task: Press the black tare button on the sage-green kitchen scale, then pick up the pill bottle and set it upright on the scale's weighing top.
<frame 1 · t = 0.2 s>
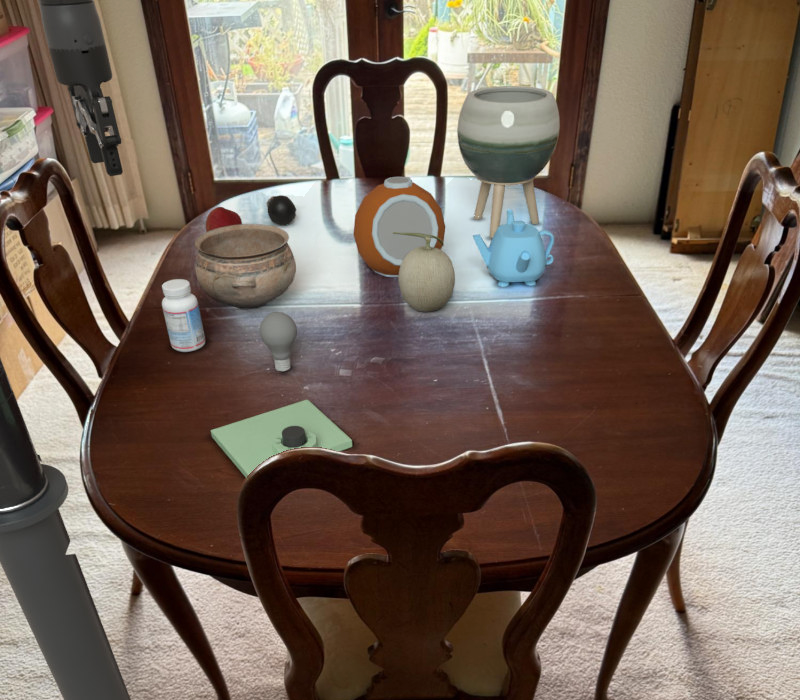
hand: (106, 168, 117), 30 cm above the table, tool pointing down, fingers open, 8 cm apart
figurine: (282, 217, 193), on the table
fruit: (427, 308, 150), on the table
cooking pot: (251, 303, 153), on the table
planter: (502, 227, 184), on the table
scale: (281, 441, 114), on the table
alarm clock: (400, 267, 166), on the table
apple: (226, 244, 179), on the table
light bulb: (283, 370, 131), on the table
pill bottle: (188, 346, 139), on the table
tare button: (293, 437, 108), point 3 cm above the table, slide at 0.1 cm
teapot: (511, 279, 160), on the table
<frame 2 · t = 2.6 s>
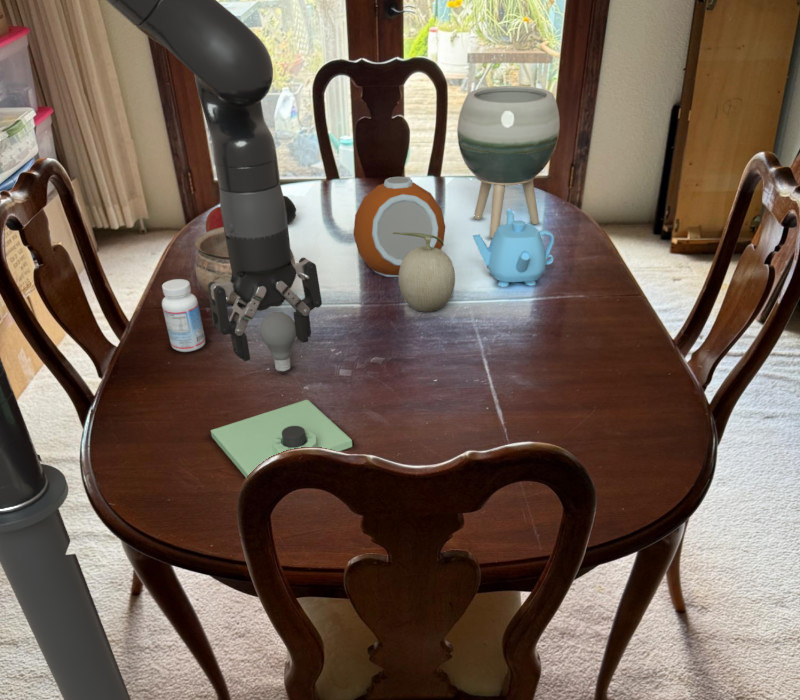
hand: (274, 349, 103), 15 cm above the table, tool pointing down, fingers open, 8 cm apart
nothing on the table moved.
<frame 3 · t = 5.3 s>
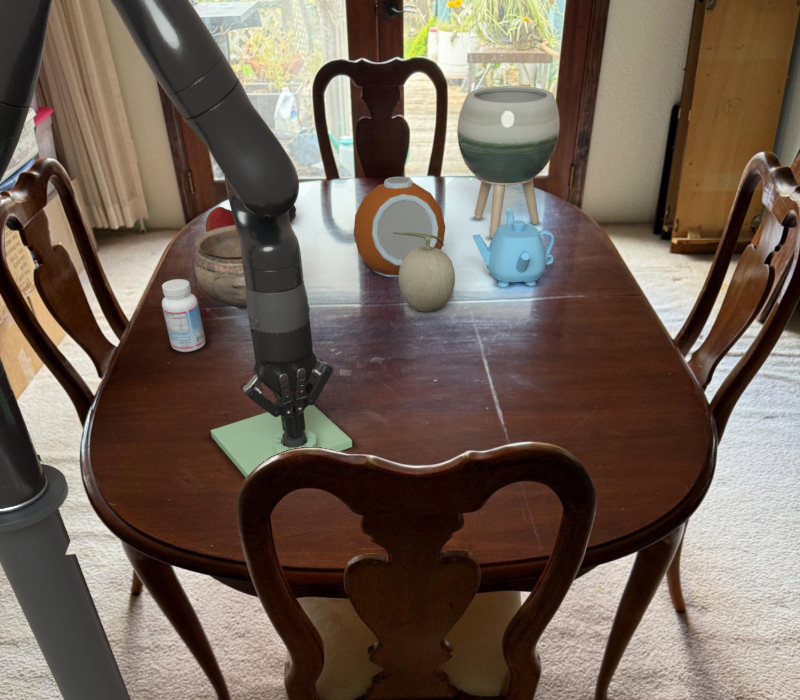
hand: (294, 435, 108), 4 cm above the table, tool pointing down, fingers closed
tare button: (294, 440, 109), point 3 cm above the table, slide at -0.4 cm, touching gripper
everything else where it was.
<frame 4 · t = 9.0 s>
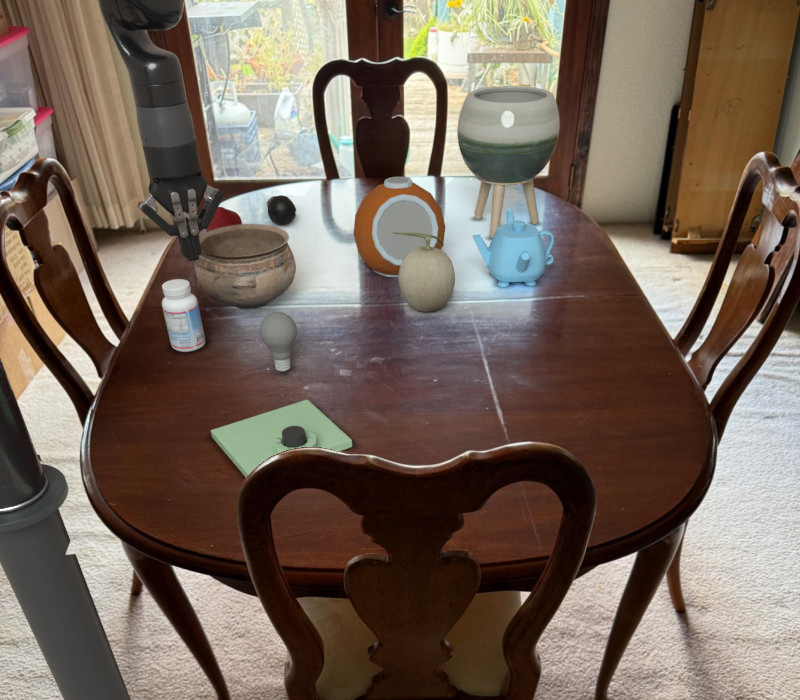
hand: (192, 259, 121), 18 cm above the table, tool pointing down, fingers closed
tare button: (294, 437, 108), point 3 cm above the table, slide at 0.1 cm
everything else where it was.
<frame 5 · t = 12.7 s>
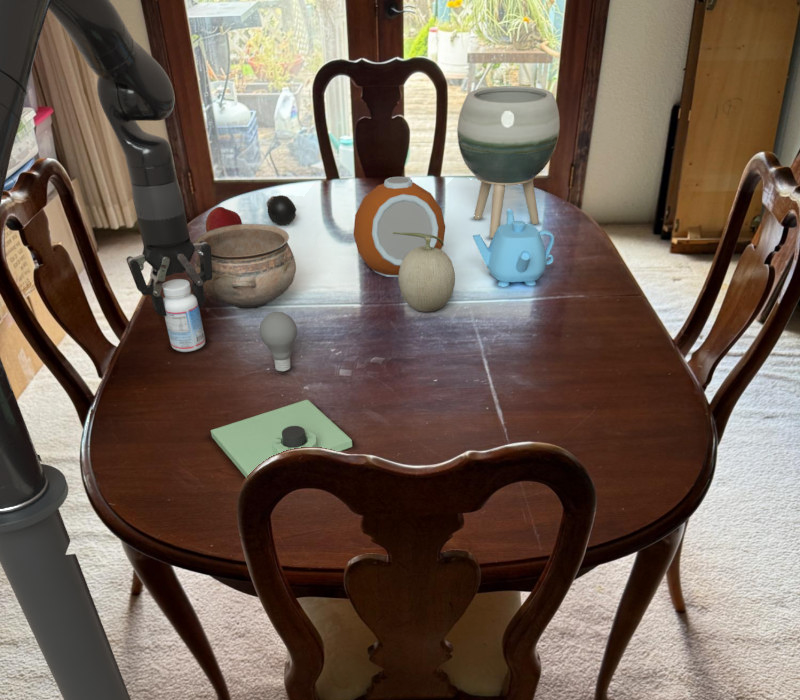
hand: (181, 310, 135), 7 cm above the table, tool pointing down, fingers closed on pill bottle, 6 cm apart
pill bottle: (188, 346, 139), on the table, touching gripper
everything else where it was.
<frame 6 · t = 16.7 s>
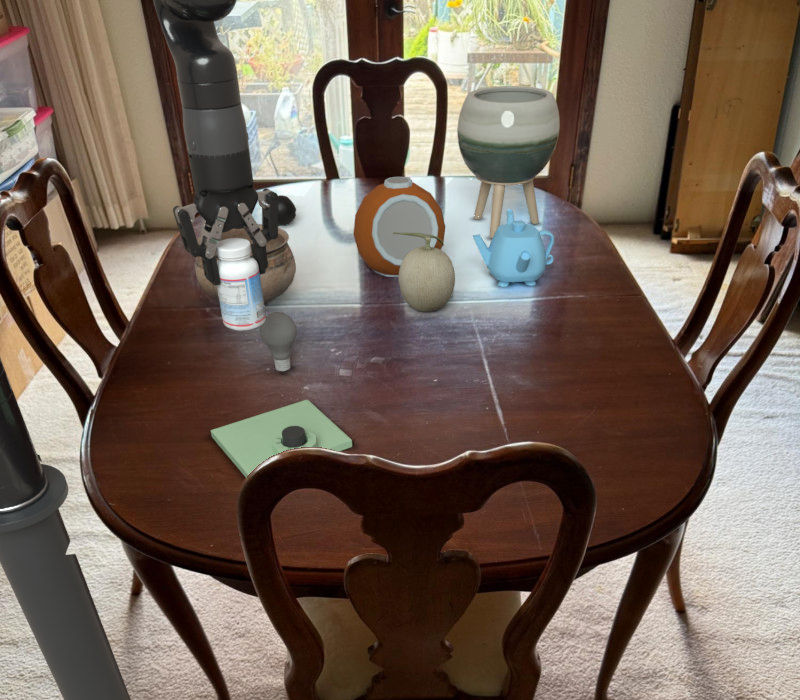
hand: (237, 277, 107), 21 cm above the table, tool pointing down, fingers closed on pill bottle, 6 cm apart
pill bottle: (244, 324, 111), point 15 cm above the table, touching gripper
everything else where it was.
when the fingers open (8 cm above the table, at t = 20.9 s): pill bottle stays where it is, resting on scale.
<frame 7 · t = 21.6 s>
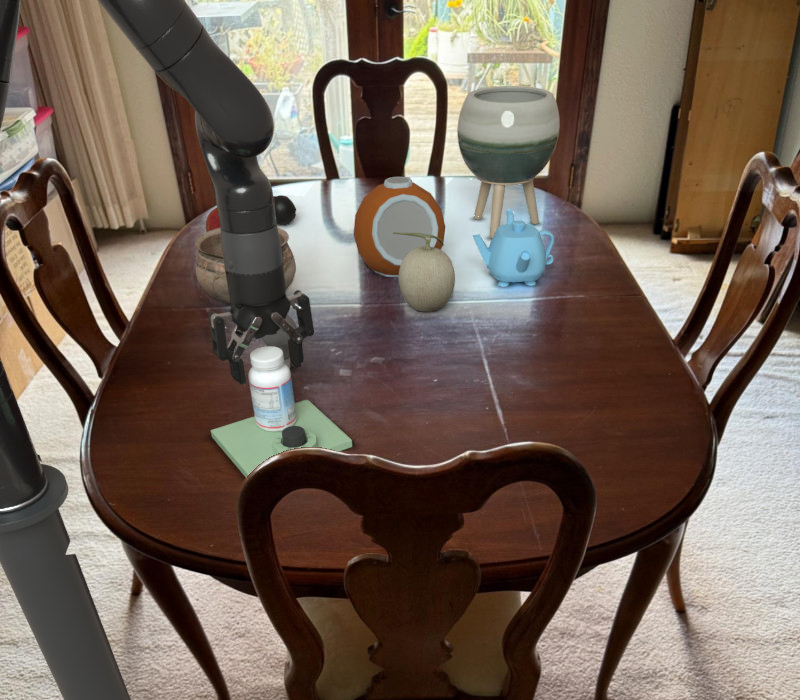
hand: (268, 373, 111), 9 cm above the table, tool pointing down, fingers open, 8 cm apart
pill bottle: (276, 423, 116), point 1 cm above the table, touching scale
everything else where it was.
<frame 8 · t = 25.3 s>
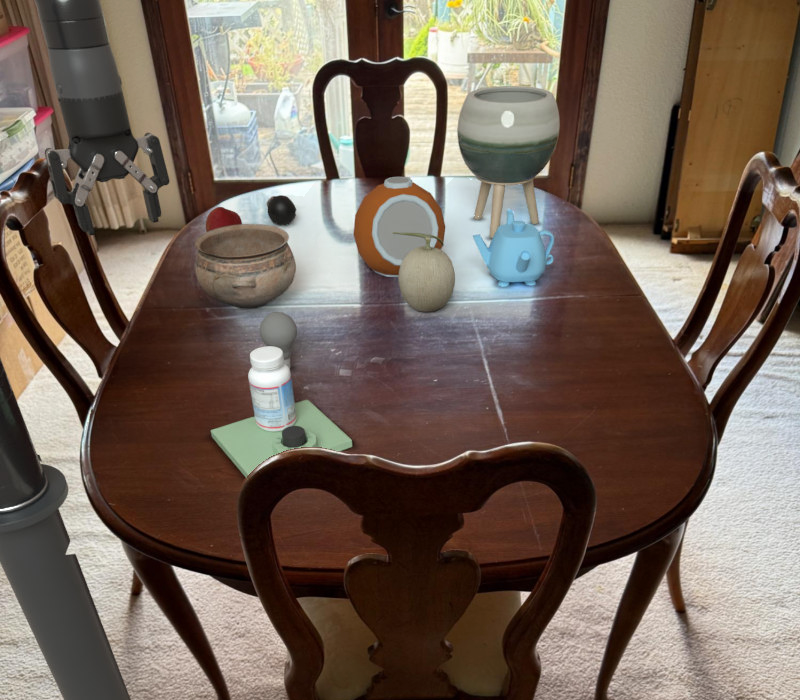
hand: (122, 227, 104), 28 cm above the table, tool pointing down, fingers open, 8 cm apart
nothing on the table moved.
at the end: tare button pushed in 1.3 cm at the most during the clip, back to where it started at the end; pill bottle inside the target area on the scale (1.4 cm from its centre), point 1.0 cm above the scale's base; pill bottle touching scale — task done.
